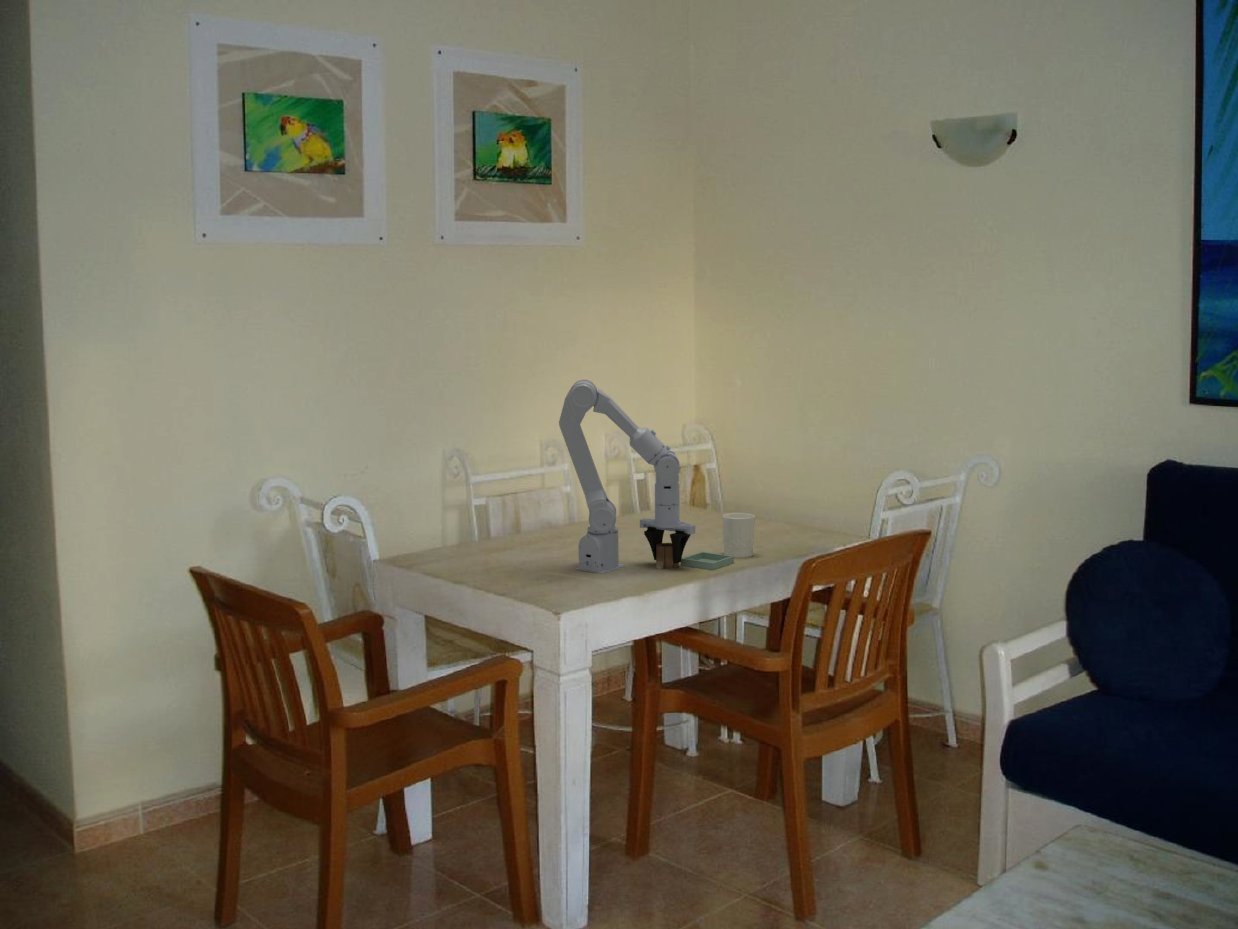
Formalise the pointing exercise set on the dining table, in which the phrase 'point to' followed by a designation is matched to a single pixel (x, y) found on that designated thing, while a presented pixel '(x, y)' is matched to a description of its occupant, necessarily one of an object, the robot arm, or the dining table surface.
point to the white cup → (738, 534)
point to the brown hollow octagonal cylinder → (665, 556)
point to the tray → (707, 560)
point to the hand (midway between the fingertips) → (667, 561)
